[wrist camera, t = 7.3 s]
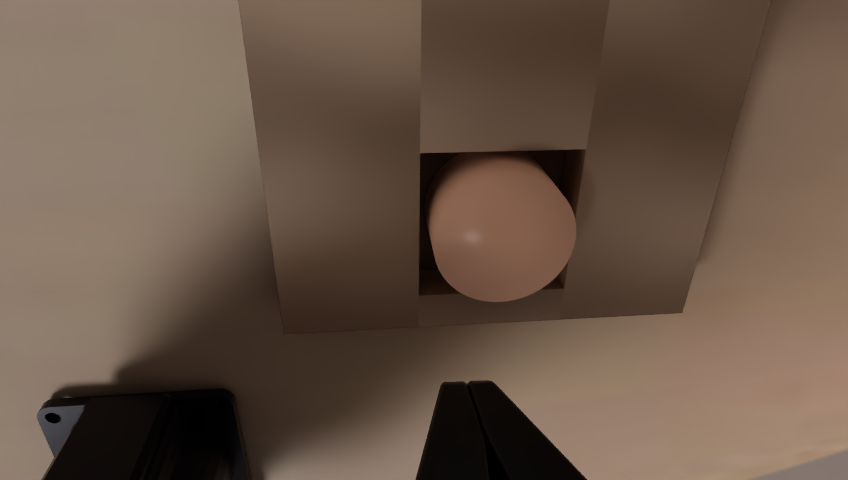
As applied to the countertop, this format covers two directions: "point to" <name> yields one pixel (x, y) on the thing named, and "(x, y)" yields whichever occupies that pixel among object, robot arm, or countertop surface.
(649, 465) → the countertop surface
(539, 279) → the terracotta button
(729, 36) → the button panel
